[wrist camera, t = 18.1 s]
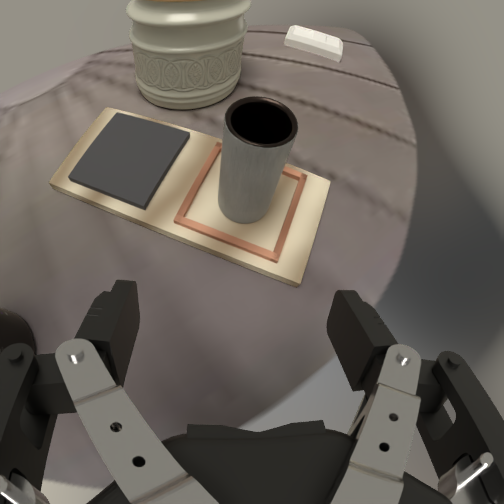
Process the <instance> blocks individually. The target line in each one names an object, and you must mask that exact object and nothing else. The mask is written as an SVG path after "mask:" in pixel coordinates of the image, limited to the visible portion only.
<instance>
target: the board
mask: <svg viewBox="0 0 504 504" xmlns="http://www.w3.org/2000/svg"><path fill="white" fill-rule="evenodd" d="M117 112H119V113H123V114H127V115H131V116H134V117H138V118H142V119H146V120H149V121H153V122H157V123H160V124H164V125H167V126H171V127H174V128H177V129H181V130H184V131H187V132H190V138H189V140H188V141H187V143H186V145H185V146H184V148H183V149H182V151H181V152H180V154H179V155H178V157H177V158H176V160H175V162H174V163H173V165H172V166H171V168H170V170H169V171H168V173H167V175H166V176H165V178H164V179H163V181H162V183H161V184H160V186H159V188H158V189H157V191H156V193H155V195H154V196H153V198H152V200H151V201H150V203H149V205H148V207H147V208H146V210H142V209H140V208H137V207H135V206H132V205H130V204H127V203H125V202H122V201H120V200H117V199H115V198H112V197H109V196H107V195H104V194H102V193H99V192H97V191H94V190H92V189H89V188H87V187H84V186H82V185H79V184H76V183H74V182H71V181H70V180H69V178H68V176H69V174H70V173H71V171H72V170H73V168H74V167H75V165H76V164H77V163H78V161H79V160H80V158H81V157H82V156H83V154H84V153H85V152H86V150H87V149H88V148H89V146H90V145H91V144H92V142H93V141H94V140H95V138H96V137H97V136H98V135H99V133H100V132H101V131H102V129H103V128H104V127H105V126H106V125H107V123H108V122H109V121H110V120H111V118H112V117H113V116H114V115H115V114H116V113H117ZM221 151H222V140H221V139H218V138H215V137H212V136H209V135H206V134H203V133H200V132H196V131H193V130H190V129H187V128H183V127H180V126H177V125H173V124H170V123H166V122H163V121H159V120H156V119H152V118H148V117H144V116H141V115H137V114H133V113H129V112H125V111H121V110H117V109H112V108H108V107H106V108H105V109H104V111H103V112H102V113H101V114H100V115H99V116H98V118H97V119H96V120H95V121H94V122H93V124H92V125H91V126H90V127H89V128H88V130H87V131H86V132H85V133H84V135H83V136H82V137H81V138H80V140H79V141H78V142H77V144H76V145H75V146H74V148H73V149H72V150H71V152H70V153H69V154H68V156H67V157H66V158H65V160H64V161H63V163H62V164H61V165H60V167H59V168H58V170H57V171H56V173H55V174H54V176H53V177H52V179H51V180H50V182H49V184H50V185H51V186H52V188H53V189H55V190H57V191H60V192H62V193H65V194H67V195H69V196H72V197H74V198H76V199H79V200H81V201H83V202H86V203H88V204H90V205H93V206H95V207H98V208H100V209H102V210H105V211H107V212H110V213H112V214H114V215H117V216H119V217H122V218H124V219H126V220H129V221H131V222H134V223H136V224H139V225H141V226H143V227H146V228H148V229H151V230H153V231H156V232H158V233H160V234H163V235H165V236H168V237H170V238H173V239H175V240H178V241H180V242H183V243H185V244H188V245H190V246H193V247H195V248H198V249H200V250H203V251H205V252H208V253H210V254H213V255H215V256H218V257H220V258H223V259H225V260H228V261H230V262H233V263H235V264H238V265H240V266H243V267H245V268H248V269H250V270H253V271H256V272H258V273H261V274H263V275H266V276H268V277H271V278H273V279H276V280H279V281H281V282H284V283H286V284H289V285H292V286H294V287H297V286H298V285H300V283H301V280H302V277H303V274H304V271H305V267H306V264H307V261H308V258H309V255H310V251H311V248H312V245H313V241H314V238H315V235H316V231H317V228H318V225H319V221H320V218H321V214H322V211H323V207H324V204H325V200H326V197H327V193H328V189H329V186H330V182H331V181H329V180H326V179H324V178H322V177H319V176H317V175H315V174H312V173H310V172H307V171H305V170H302V169H300V168H297V167H295V166H292V165H290V164H287V163H286V164H285V167H284V169H283V172H282V174H281V177H280V180H279V182H278V185H277V187H276V190H275V193H274V195H273V198H272V200H271V203H270V206H269V208H268V210H267V212H266V214H265V215H264V216H263V217H262V218H261V219H259V220H258V221H255V222H252V223H237V222H234V221H232V220H230V219H229V218H227V217H226V216H225V215H224V214H223V213H222V211H221V210H220V207H219V204H218V189H219V176H220V163H221Z"/></svg>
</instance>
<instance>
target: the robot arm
mask: <svg viewBox="0 0 504 504" xmlns="http://www.w3.org/2000/svg"><path fill="white" fill-rule="evenodd" d="M139 323H140V312H139V303H138V293H137V284H136V282H135V281H127V280H116V282H115V284H114V286H113V288H112V290H111V292H107V291H104V292H102V293H101V294H100V295H99V296H97V297H96V298H95V299H94V301H93V303H92V305H91V308H90V309H89V311H88V313H87V315H86V316H85V318H84V320H83V322H82V324H81V326H80V328H79V330H78V332H77V334H76V336H75V338H74V339H71V340H68V341H66V342H64V343H62V344H61V345H60V346H59V347H58V348H57V350H56V353H53V354H42V355H35V354H34V352H33V350H32V348H31V347H30V346H29V345H27V344H24V343H16V344H12V345H10V346H8V347H6V348H5V349H4V350H3V351H2V352H1V354H0V504H50V503H49V501H48V499H47V498H46V497H45V496H44V494H42V493H41V486H42V480H43V475H44V470H45V465H46V460H47V456H48V451H49V447H50V443H51V438H52V434H53V430H54V427H55V423H56V419H57V415H58V414H63V413H75V412H78V414H79V416H80V419H81V421H82V423H83V425H84V427H85V429H86V431H87V432H88V434H89V436H90V438H91V440H92V442H93V444H94V446H95V447H96V449H97V451H98V453H99V455H100V456H101V458H102V460H103V461H104V463H105V465H106V466H107V468H108V470H109V471H110V473H111V475H112V476H113V478H114V479H115V480H114V481H113V482H112V483H111V484H110V485H109V486H107V487H106V488H105V489H104V490H103V491H101V492H100V493H99V494H98V495H97V496H95V497H94V498H93V499H92V500H91V501H89V502H88V503H87V504H504V420H503V419H502V417H501V415H500V414H499V412H498V410H497V409H496V407H495V405H494V404H493V402H492V401H491V399H490V397H489V396H488V394H487V393H486V391H485V390H484V388H483V387H482V385H481V384H480V382H479V381H478V379H477V378H476V376H475V375H474V373H473V372H472V370H471V369H470V367H469V366H468V365H467V363H466V362H465V360H464V359H463V358H462V357H461V356H460V355H458V354H456V353H454V352H451V351H444V352H441V353H440V354H439V356H438V358H437V359H436V361H430V360H423V359H421V358H420V356H419V354H418V353H417V352H416V351H415V350H414V349H412V348H410V347H408V346H406V345H402V344H398V343H397V341H396V340H395V338H394V337H393V335H392V334H391V332H390V331H389V329H388V328H387V326H386V325H384V322H383V320H382V319H381V318H380V316H379V315H378V313H377V312H376V310H375V309H374V308H373V307H372V306H370V305H369V304H368V303H366V302H363V301H362V299H361V298H360V296H359V295H358V293H357V292H356V291H355V290H338V291H336V293H335V296H334V299H333V302H332V306H331V309H330V313H329V316H328V320H327V333H328V336H329V338H330V340H331V343H332V345H333V347H334V349H335V352H336V354H337V356H338V358H339V361H340V363H341V365H342V367H343V370H344V372H345V374H346V377H347V379H348V381H349V383H350V386H351V388H352V390H353V391H360V390H364V391H365V395H364V397H363V399H362V401H361V404H360V406H359V408H358V411H357V413H356V416H355V418H354V420H353V422H352V425H351V427H350V429H349V431H348V434H344V433H342V432H338V431H335V430H329V429H325V426H324V422H323V420H319V421H309V422H298V423H290V424H287V425H284V426H280V427H277V428H273V429H270V430H266V431H262V432H253V431H248V430H242V429H237V428H232V427H228V426H223V425H194V424H188V426H187V433H186V434H181V435H177V436H173V437H171V438H168V439H165V440H163V441H160V440H159V439H158V438H157V436H156V435H155V434H154V432H153V431H152V430H151V428H150V427H149V425H148V424H147V423H146V421H145V420H144V419H143V417H142V416H141V414H140V413H139V412H138V410H137V409H136V407H135V406H134V404H133V403H132V401H131V400H130V398H129V397H128V395H127V394H126V392H125V391H124V389H123V385H124V381H125V377H126V373H127V369H128V365H129V362H130V358H131V354H132V351H133V347H134V343H135V340H136V336H137V333H138V329H139ZM447 399H449V400H450V402H451V404H452V406H453V408H454V410H455V412H456V420H455V422H454V424H453V423H452V421H451V419H450V417H449V415H448V414H447V411H446V410H445V408H444V406H443V404H444V403H445V402H446V400H447ZM415 426H417V428H418V431H419V433H420V435H421V437H422V440H423V442H424V444H425V447H426V449H427V451H428V454H429V456H430V459H431V461H432V463H433V466H434V468H435V471H436V473H437V476H438V478H439V482H438V491H437V490H435V489H433V488H431V487H430V486H428V485H426V484H425V483H423V482H421V481H420V480H418V479H416V478H415V477H413V476H411V475H410V474H408V473H407V472H405V471H404V470H405V466H406V463H407V459H408V455H409V451H410V448H411V444H412V439H413V435H414V431H415Z"/></svg>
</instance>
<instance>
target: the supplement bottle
mask: <svg viewBox="0 0 504 504" xmlns="http://www.w3.org/2000/svg"><path fill="white" fill-rule="evenodd" d="M16 343H24V344H27V345H29V346H30V347H31V348H32V350H33V352H34V354H35V348H34V341H33V337H32V334H31V331H30V329H29V327H28V325H27V324H26V322H25V321H24V320H23V319H22V318H21V317H20V316H19V315H17V314H15V313H13V312H11V311H8V310H6V309H3V308H0V354H1V352H2V351H3V350H4V349H5V348H6V347H8V346H10V345H12V344H16Z"/></svg>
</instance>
